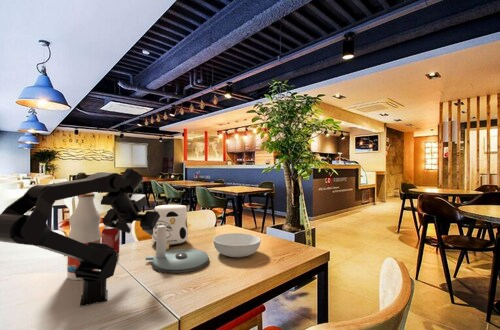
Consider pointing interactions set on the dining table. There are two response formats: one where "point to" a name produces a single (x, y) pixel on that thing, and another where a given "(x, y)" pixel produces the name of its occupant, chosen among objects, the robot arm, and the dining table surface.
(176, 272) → the pivot base
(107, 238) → the soda can
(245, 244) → the serving bowl
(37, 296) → the dining table surface
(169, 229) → the milk container
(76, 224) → the fruit juice
